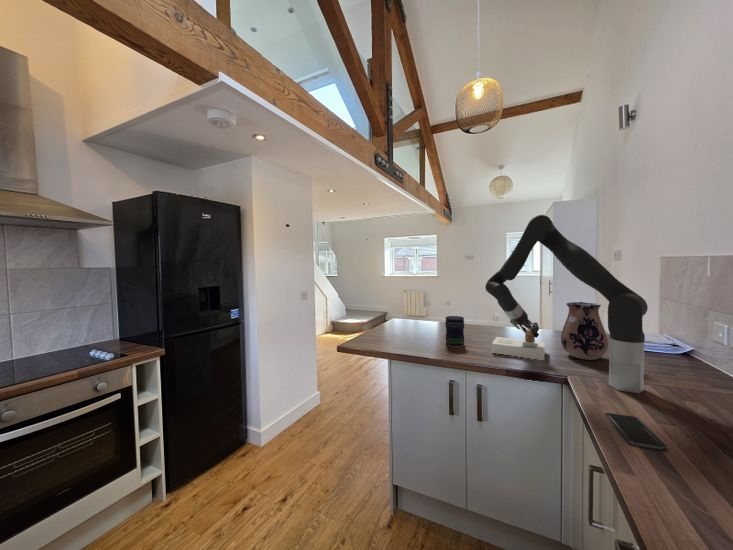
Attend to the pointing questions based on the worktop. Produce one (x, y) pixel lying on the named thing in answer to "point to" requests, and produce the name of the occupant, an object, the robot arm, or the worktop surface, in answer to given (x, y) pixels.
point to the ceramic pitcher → (584, 332)
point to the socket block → (519, 348)
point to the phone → (635, 431)
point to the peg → (529, 336)
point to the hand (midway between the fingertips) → (532, 335)
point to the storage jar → (454, 330)
